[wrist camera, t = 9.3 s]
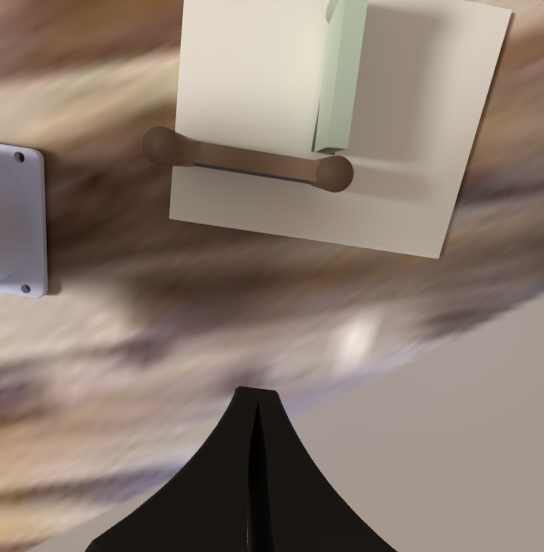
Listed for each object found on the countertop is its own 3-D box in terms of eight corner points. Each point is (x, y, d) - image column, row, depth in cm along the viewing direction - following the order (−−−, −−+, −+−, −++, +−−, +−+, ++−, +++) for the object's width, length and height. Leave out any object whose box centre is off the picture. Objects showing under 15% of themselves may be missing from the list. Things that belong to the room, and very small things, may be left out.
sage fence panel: (333, 153, 18) (353, 148, 14) (310, 151, 18) (323, 146, 14) (353, -1, 16) (383, -60, 12) (327, -4, 16) (348, -63, 12)
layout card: (170, 218, 19) (168, 219, 19) (189, -49, 16) (187, -55, 15) (435, 257, 20) (439, 259, 20) (508, 12, 17) (513, 8, 16)
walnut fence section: (172, 164, 18) (141, 162, 14) (174, 135, 18) (143, 123, 13) (329, 189, 18) (349, 195, 14) (334, 161, 18) (357, 158, 14)
